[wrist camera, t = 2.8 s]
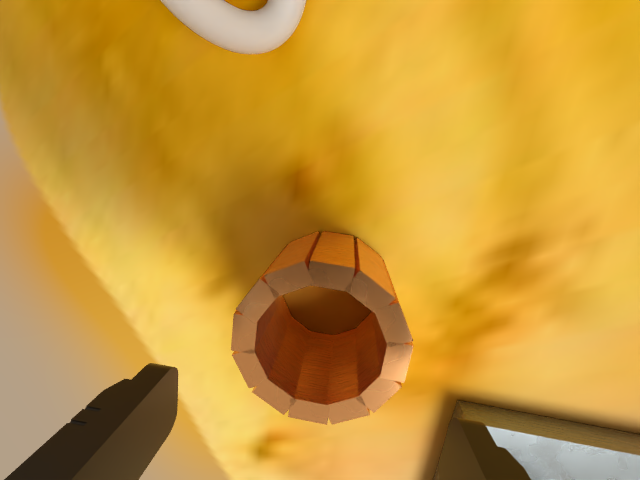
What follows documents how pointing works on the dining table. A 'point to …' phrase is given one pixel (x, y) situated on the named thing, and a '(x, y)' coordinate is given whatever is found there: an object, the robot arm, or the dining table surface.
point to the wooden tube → (318, 348)
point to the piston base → (558, 445)
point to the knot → (240, 23)
